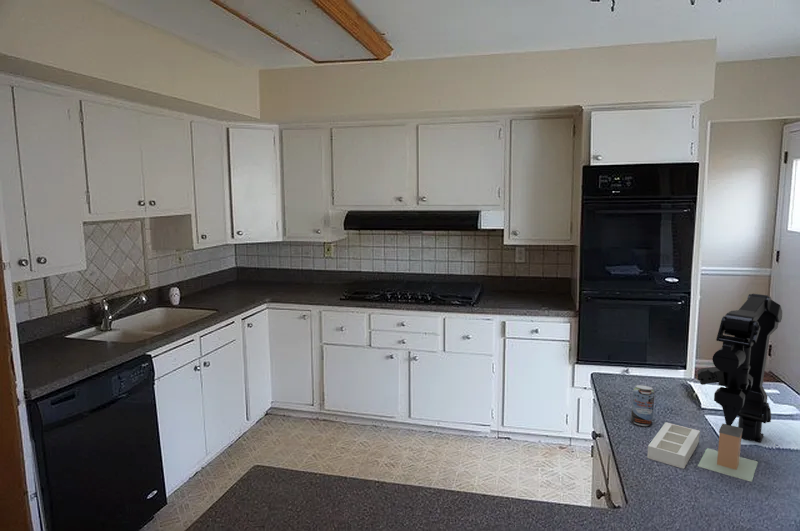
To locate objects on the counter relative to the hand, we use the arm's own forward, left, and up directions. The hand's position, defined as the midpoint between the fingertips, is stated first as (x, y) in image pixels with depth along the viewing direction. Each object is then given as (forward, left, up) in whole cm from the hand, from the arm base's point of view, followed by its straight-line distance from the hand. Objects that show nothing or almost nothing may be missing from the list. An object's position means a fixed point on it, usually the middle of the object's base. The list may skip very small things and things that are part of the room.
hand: (731, 418), depth 141 cm
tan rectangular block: (+1, 0, -12) cm, 12 cm away
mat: (+1, 0, -13) cm, 13 cm away
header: (+2, -13, -13) cm, 18 cm away
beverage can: (-11, -25, -13) cm, 30 cm away
